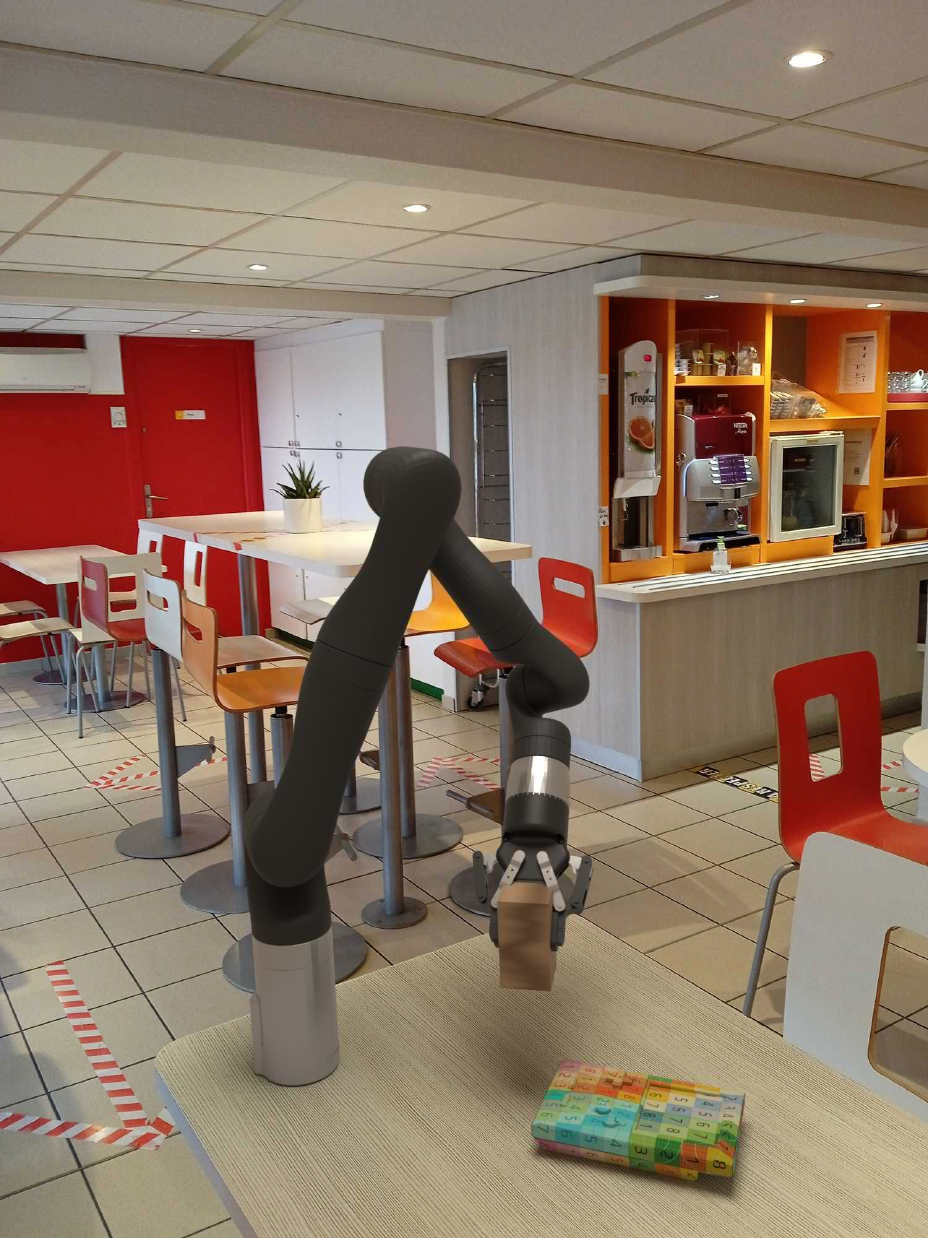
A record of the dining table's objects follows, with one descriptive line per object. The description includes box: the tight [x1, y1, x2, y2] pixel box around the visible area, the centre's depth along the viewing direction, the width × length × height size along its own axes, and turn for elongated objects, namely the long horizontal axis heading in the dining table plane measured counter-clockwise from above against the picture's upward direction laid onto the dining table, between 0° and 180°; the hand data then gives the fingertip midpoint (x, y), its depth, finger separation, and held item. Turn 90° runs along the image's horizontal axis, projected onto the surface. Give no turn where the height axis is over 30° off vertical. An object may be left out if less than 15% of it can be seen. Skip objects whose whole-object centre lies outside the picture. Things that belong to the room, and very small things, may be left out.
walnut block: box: [497, 881, 558, 993], centre depth 113 cm, size 6×6×10 cm
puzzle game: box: [530, 1059, 746, 1182], centre depth 107 cm, size 12×5×20 cm
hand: (526, 947), depth 111 cm, fingers closed on walnut block, 5 cm apart
